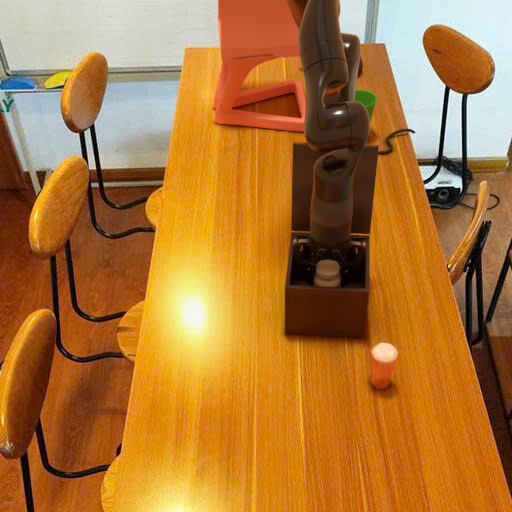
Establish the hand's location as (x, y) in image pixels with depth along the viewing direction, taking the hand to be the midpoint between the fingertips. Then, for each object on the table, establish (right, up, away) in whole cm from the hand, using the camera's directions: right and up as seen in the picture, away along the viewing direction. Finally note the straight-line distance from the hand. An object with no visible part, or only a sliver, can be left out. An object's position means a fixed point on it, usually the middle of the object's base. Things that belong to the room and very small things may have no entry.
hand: (326, 283), depth 137 cm
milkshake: (+9, -20, -8) cm, 23 cm away
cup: (+11, +46, +46) cm, 66 cm away
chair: (-14, +57, +55) cm, 80 cm away
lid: (+1, +17, -6) cm, 18 cm away
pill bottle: (0, -4, +4) cm, 6 cm away
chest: (0, -4, +5) cm, 6 cm away
